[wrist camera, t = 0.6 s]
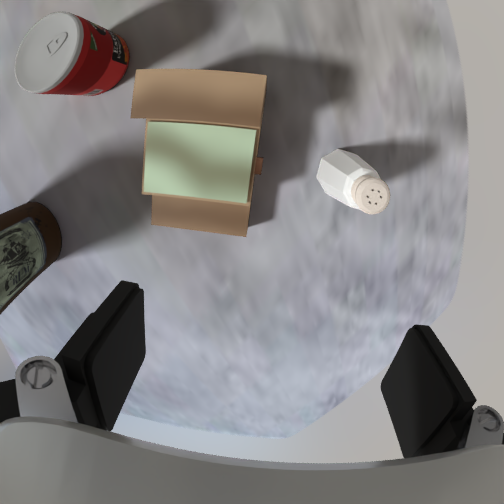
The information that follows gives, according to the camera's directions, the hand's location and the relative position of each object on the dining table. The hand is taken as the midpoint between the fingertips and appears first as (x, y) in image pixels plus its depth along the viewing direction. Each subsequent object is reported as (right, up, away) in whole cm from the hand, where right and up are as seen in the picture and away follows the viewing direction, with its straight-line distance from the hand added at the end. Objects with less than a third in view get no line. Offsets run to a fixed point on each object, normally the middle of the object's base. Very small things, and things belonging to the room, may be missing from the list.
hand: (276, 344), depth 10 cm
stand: (-5, +13, +21) cm, 26 cm away
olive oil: (-31, +6, +26) cm, 40 cm away
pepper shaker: (+9, +11, +22) cm, 26 cm away
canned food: (-18, +24, +17) cm, 35 cm away
